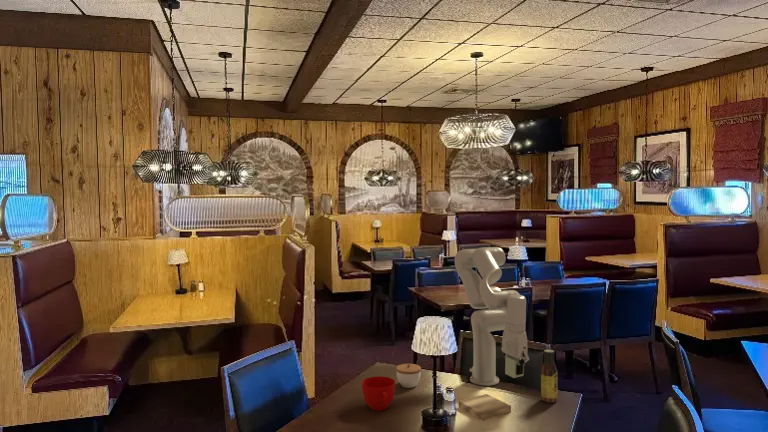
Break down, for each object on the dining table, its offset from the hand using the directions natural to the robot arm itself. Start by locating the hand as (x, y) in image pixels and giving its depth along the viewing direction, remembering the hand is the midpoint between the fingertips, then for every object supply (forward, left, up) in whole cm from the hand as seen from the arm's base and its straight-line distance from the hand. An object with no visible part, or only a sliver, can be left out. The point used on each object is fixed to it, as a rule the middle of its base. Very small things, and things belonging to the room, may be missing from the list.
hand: (514, 371), depth 216 cm
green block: (0, 0, -1) cm, 1 cm away
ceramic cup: (-22, -48, -13) cm, 55 cm away
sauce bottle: (+5, +14, -13) cm, 20 cm away
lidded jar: (-38, -25, -13) cm, 47 cm away
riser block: (-1, -14, -13) cm, 19 cm away
